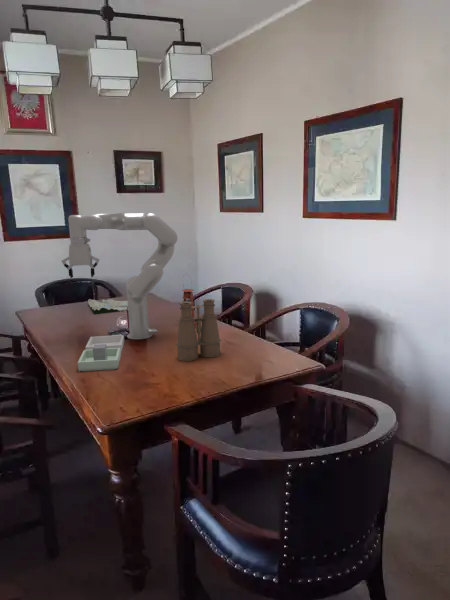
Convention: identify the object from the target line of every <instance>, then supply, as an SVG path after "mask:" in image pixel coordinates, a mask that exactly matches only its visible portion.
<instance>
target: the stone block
mask: <svg viewBox="0 0 450 600" xmlns="http://www.w3.org/2000/svg"><path fill="white" fill-rule="evenodd" d="M93 358H94V361H97V360H108V359H107V347H106V344H101V345H94V347H93Z"/></svg>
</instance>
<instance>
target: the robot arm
mask: <svg viewBox="0 0 450 600" xmlns="http://www.w3.org/2000/svg"><path fill="white" fill-rule="evenodd" d="M67 221H68V228H69V229H68V230H69V239H70V244H68V245H69V246H68V256H67V257H66V258H64V259H62V260H61V263H62V265H63V266H64V267H65V269H67V271H68V276H69V277H70V279H73V277H74V272H73V268H72V267H75V266H78V267H80V266H89V267H90V276H91V278H93V277H94V276H95V274H96V273H95V268H96V267H97V266H98V264H99V262H100V258H97V257H96V256H93V255H92V250H91V246H90V244H89V242H91V238H88V237H87V236H88V235H87V231H88V230H89V231H98V230H117V231H148V232H149V233H150V234H152V236H154V237H155V238H156V239H157V243H158V245H157V248H156V250H154V252H153V253H152V254H151V256H150V257H149V258H148V259H147V260H146V261H145V262H144V263H143V264H142V266H141V268H140V270H141V271H140V273H139V274H138V275H133V276H131V277H129V278H128V279H127V281H126V282H125V283H126V284H125V291H126V298H127V300H126V301H128V306H127V307H128V310H127V311H128V314H127V315H128V324H129V326H128V328H129V333H127V335H126V338H128V339H130V340H144V339H148V338H149V339H150V338H151V337H152V336H153V334H158V329H155V328H150V326H149V318H148V315H149V314H148V300H147V295H148V294H149V293H150V292H151V291H152V290H153V289H154V288H155V287H156V286H157V285H158V283H159V282H160V281H161V280H162V278H163V276H164V268H165V267H166V265H167V264H168V263H169V261H171V259H172V258H173V256H174V252H175V245H176V243H177V242H178V234H177V232H176V231H175V230H174V229H173V228H172V227H171V226H170V225H169V224H168V223H166V221H164V220H163V219H162V218H161V217H160V216H159V215H158V214H156V213H155V212H116V213H115V212H114V213H91V214H87V215H83V214H70V215H69V216H68V220H67ZM67 261H68V263H69V265H68V263H67ZM93 261H95V262H94V264H93Z"/></svg>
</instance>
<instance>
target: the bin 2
mask: <svg viewBox="0 0 450 600" xmlns="http://www.w3.org/2000/svg"><path fill="white" fill-rule="evenodd" d="M121 357H122V352H121V348H108V349H107V359H108V360H97V361H94V358H93V349H92V350H86V349H83V351H82V353H81V355H80V356H79V359H78V361H77V371H78V372H79V373H80V371H82V372H91V371H106V370H107V371H108V370H118V369H119V366H120V361H121Z"/></svg>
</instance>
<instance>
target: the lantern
mask: <svg viewBox="0 0 450 600" xmlns="http://www.w3.org/2000/svg"><path fill="white" fill-rule="evenodd" d="M186 275H188V273H185V274H184V276H186ZM188 276H189V278H190V280H191V283H193V281H192V277H191V276H190V275H188ZM182 286H183V289H182V290H181V291H182V292H183V294H182V295H183V296H182V299H183V302H185V301H187V300H189V302H192V304H191V306H194V304H196V302H194V298H195V297H194V294H193V292H194V291H195V290H194V289H193V288H185V287H184V284H182ZM195 309H196V308H192V309H191V316H192V317H196V315H195V311H196V310H195ZM194 325H195V328H196V327H197V322H195V320H194Z"/></svg>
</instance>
